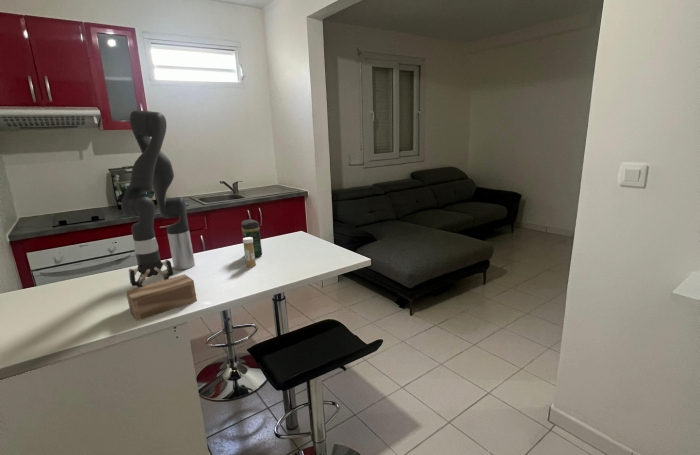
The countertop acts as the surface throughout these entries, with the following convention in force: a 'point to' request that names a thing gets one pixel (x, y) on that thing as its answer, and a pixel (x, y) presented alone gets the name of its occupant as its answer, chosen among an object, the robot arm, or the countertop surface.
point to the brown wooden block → (161, 296)
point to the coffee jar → (252, 235)
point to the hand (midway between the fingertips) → (154, 290)
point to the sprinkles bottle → (249, 251)
